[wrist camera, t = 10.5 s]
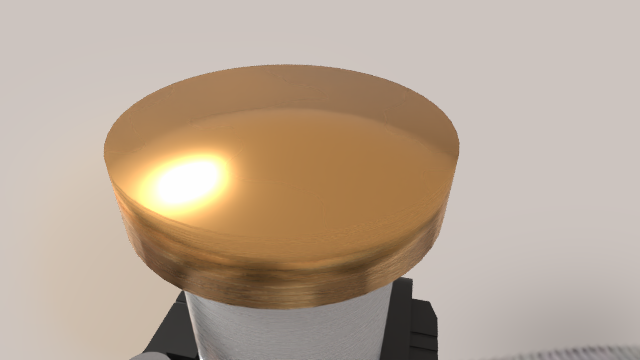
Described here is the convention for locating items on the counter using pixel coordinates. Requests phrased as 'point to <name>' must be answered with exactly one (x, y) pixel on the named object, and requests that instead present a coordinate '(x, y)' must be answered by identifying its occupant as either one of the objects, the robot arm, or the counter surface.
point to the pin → (283, 203)
